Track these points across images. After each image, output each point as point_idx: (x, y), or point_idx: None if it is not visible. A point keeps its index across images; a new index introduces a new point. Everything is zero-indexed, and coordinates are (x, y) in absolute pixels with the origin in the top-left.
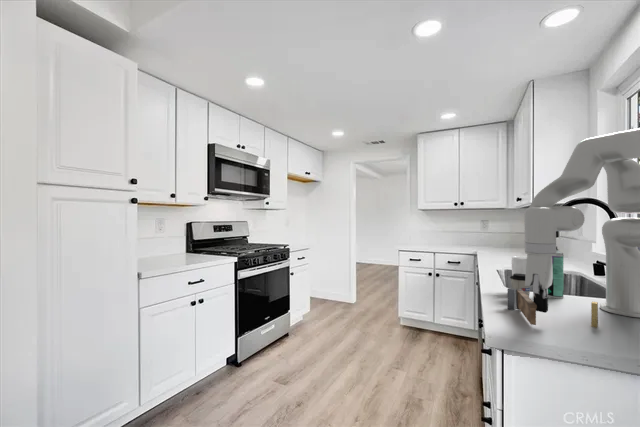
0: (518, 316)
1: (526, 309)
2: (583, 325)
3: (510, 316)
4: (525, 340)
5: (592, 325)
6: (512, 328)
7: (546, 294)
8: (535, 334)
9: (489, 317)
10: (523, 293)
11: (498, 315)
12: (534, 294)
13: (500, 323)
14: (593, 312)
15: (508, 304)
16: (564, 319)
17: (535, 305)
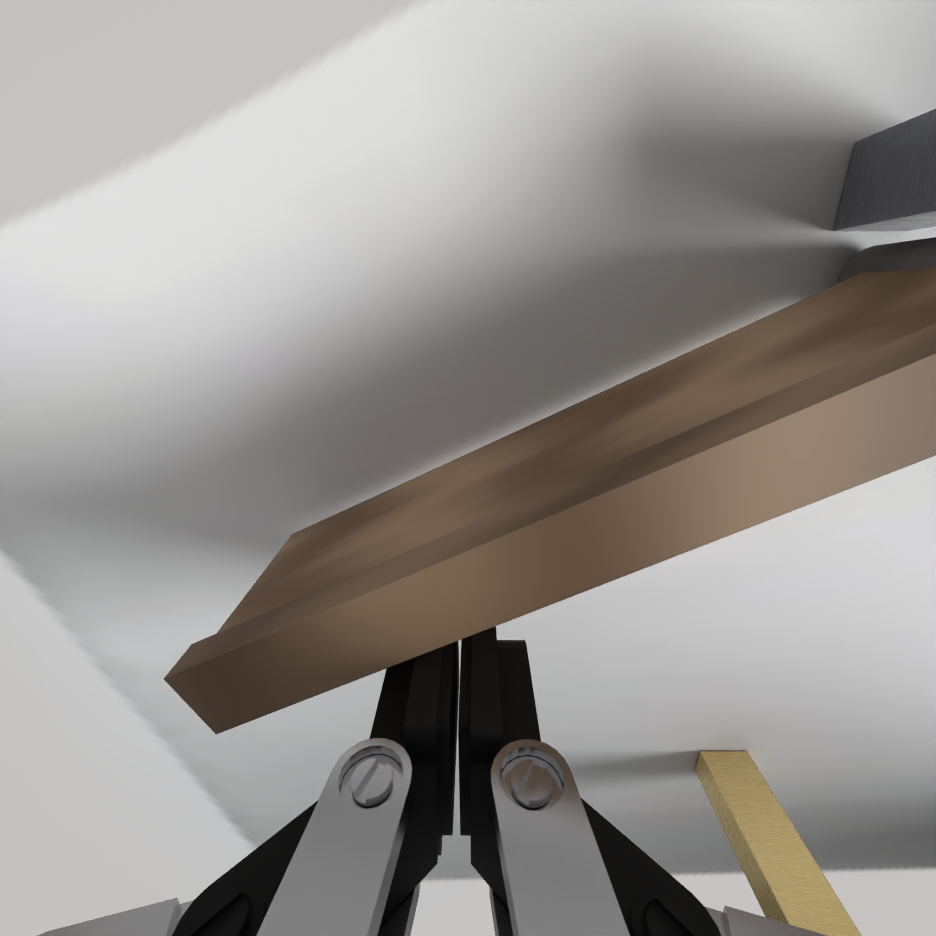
0: (604, 341)
1: (432, 508)
2: (699, 720)
3: (542, 278)
4: (23, 547)
5: (705, 764)
6: (182, 409)
7: (494, 919)
8: (214, 563)
9: (306, 98)
10: (925, 426)
11: (476, 157)
12: (316, 820)
13: (214, 281)
14: (759, 880)
15: (909, 134)
16: (779, 627)
17: (209, 719)
